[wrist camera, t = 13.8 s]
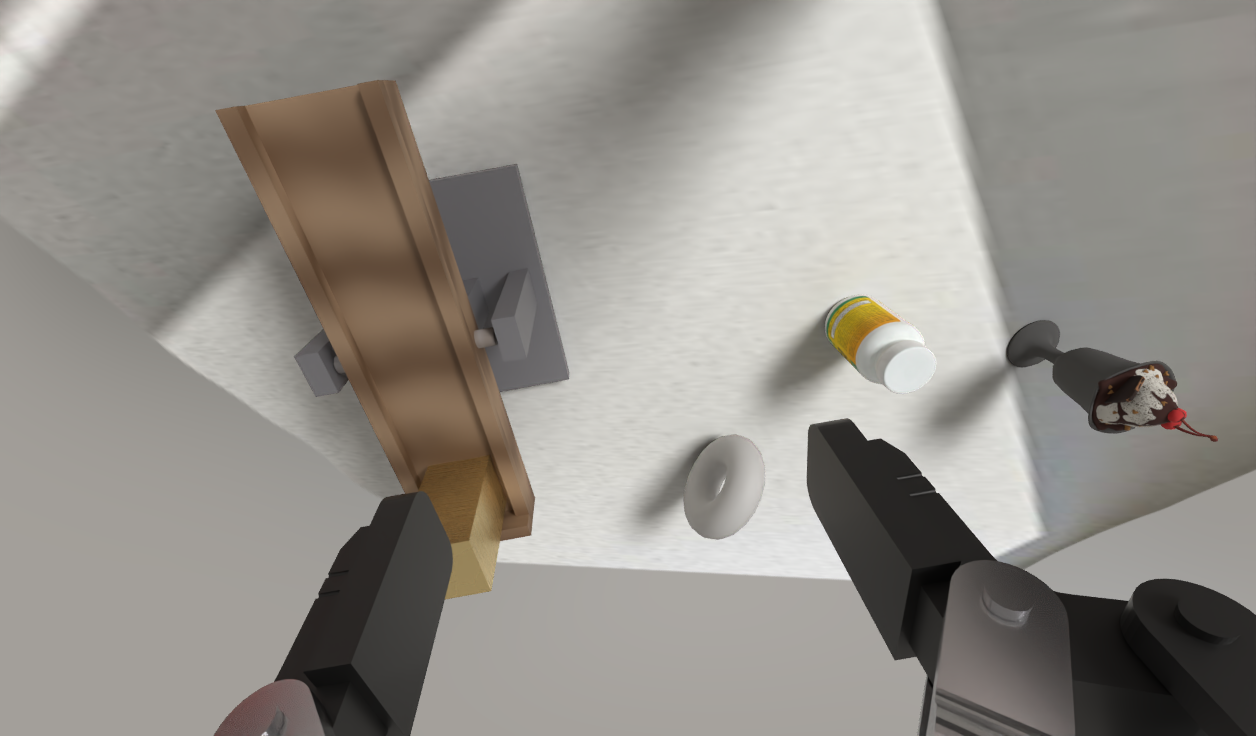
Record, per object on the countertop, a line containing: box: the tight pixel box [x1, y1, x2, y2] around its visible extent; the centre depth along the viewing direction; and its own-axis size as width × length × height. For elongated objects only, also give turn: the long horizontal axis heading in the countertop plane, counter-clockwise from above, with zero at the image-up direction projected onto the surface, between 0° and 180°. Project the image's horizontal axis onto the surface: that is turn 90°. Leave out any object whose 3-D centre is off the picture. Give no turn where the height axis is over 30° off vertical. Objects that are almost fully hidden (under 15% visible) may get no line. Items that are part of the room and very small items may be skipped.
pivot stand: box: [294, 164, 569, 397], centre depth 38 cm, size 18×16×11 cm
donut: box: [683, 435, 765, 540], centre depth 48 cm, size 10×4×10 cm, turn 148°
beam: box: [215, 80, 535, 541], centre depth 33 cm, size 30×10×4 cm, turn 9°
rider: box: [418, 455, 507, 599], centre depth 35 cm, size 4×4×8 cm
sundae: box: [1008, 320, 1218, 442], centre depth 43 cm, size 7×7×15 cm
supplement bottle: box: [825, 295, 936, 394], centre depth 43 cm, size 5×5×10 cm
